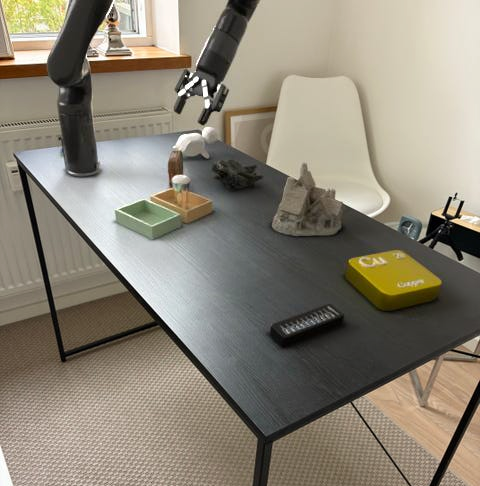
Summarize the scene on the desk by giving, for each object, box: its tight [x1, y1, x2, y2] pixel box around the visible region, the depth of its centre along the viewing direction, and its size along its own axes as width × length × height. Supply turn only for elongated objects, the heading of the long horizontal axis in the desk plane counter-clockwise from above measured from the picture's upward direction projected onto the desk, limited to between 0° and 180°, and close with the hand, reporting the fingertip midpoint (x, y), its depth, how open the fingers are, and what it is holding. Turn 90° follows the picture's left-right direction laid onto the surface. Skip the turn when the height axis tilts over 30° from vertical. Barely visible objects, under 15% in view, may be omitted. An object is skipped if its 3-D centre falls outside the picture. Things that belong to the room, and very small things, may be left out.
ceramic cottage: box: [271, 162, 346, 237], centre depth 122 cm, size 16×16×15 cm
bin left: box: [114, 198, 182, 240], centre depth 121 cm, size 13×10×3 cm
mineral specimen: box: [210, 158, 264, 191], centre depth 143 cm, size 15×13×10 cm
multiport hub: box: [269, 303, 345, 348], centre depth 91 cm, size 4×14×2 cm, turn 122°
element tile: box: [344, 249, 443, 312], centre depth 104 cm, size 15×15×5 cm
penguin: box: [172, 126, 219, 160], centre depth 162 cm, size 9×8×15 cm
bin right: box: [149, 187, 213, 224], centre depth 129 cm, size 13×10×3 cm
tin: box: [167, 149, 184, 189], centre depth 142 cm, size 15×3×8 cm, turn 179°
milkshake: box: [172, 168, 191, 210], centre depth 127 cm, size 4×5×10 cm
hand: (188, 118), depth 123 cm, fingers open, 8 cm apart
